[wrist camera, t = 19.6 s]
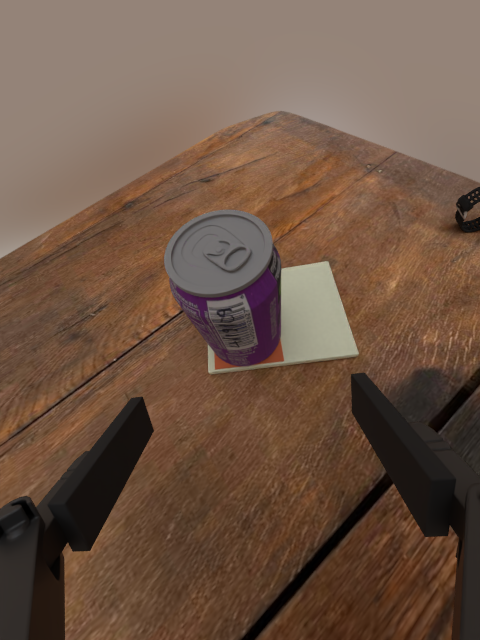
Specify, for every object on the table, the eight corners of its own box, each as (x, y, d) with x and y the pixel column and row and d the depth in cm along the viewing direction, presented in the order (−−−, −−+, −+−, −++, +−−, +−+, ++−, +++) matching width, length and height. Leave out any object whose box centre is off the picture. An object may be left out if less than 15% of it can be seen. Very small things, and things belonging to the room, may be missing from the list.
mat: (327, 265, 27) (328, 259, 26) (356, 356, 22) (359, 353, 21) (208, 284, 28) (206, 279, 28) (210, 374, 23) (207, 372, 22)
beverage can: (294, 323, 23) (306, 226, 13) (254, 383, 21) (228, 327, 11) (237, 292, 26) (208, 192, 15) (196, 343, 24) (131, 266, 13)
